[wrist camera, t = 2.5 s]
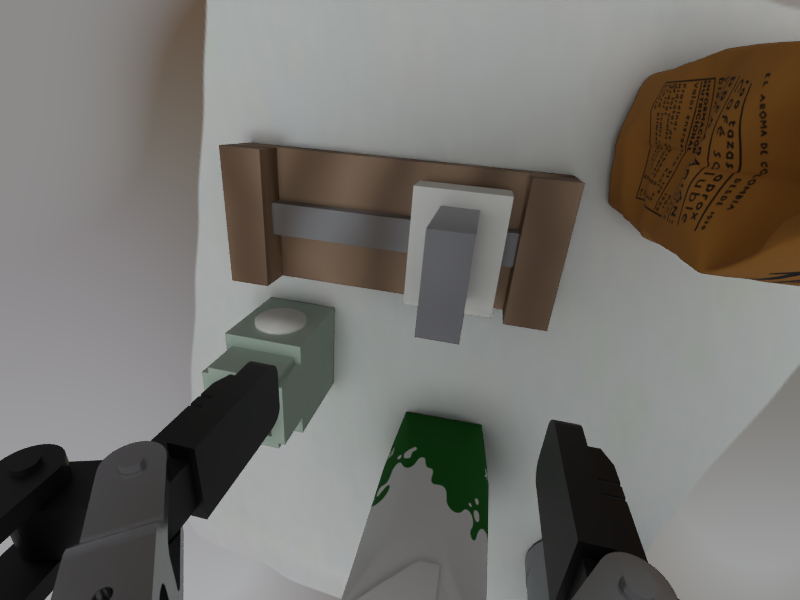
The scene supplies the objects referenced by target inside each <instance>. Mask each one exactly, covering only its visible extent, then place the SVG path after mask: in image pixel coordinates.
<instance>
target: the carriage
mask: <svg viewBox="0 0 800 600" xmlns="http://www.w3.org/2000/svg"><path fill="white" fill-rule="evenodd" d="M513 199H514V195H513V191H512V190H504V189H494V188H485V187H476V186H467V185H458V184H449V183H440V182H431V181H422V180H420V181H419V182H418V183H416V184H415V185H414V186H413V198H412V209H411V220H410V232H409V243H408V254H407V266H406V277H405V288H404V300H403V304H405V305H411V306H418V310H417V320H416V329H415V337H418V338H424V339H430V340H436V341H441V342H447V343H453V344H459V341H460V335H461V329H462V323H463V316H464V314H468V315H474V316H480V317H487V318H491V315H492V310H493V305H494V299H495V294H496V289H497V284H498V278H499V273H500V268H501V262H502V257H503V252H504V247H505V241H506V236H507V231H508V225H509V220H510V215H511V210H512V204H513Z"/></svg>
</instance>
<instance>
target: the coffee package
mask: <svg viewBox="0 0 800 600" xmlns="http://www.w3.org/2000/svg"><path fill="white" fill-rule="evenodd" d="M609 204H610V206H611V207H612V208H614V209H616V210H617V211H618V212H620V213H621V214H622V215H623V216H624V218H625V219H627V220H628V221H629V222H630V223H631V224H632V225H633V226H634V227H635V228H636V229H637V230H638V231H639V232H640V233H641V235H642V236H643V237H645V238H646V239H648V240H650V241H653V242H655V243H658V244H660V245H662V246H663V247H665V248H666V249H668V250H670V251H671V252H673V253H675V254H676V255H677V256H678V257H679V258H680V259H681V260H683V261H684V262H685V263H687V264H688V265H689V266H691V267H692V268H693V269H695V270H696V271H697V272H700V273H703V274H710V275H717V276H724V277H734V278H744V279H751V280H757V281H763V282H770V283H779V284H787V285H796V286H800V41H795V42H778V43H766V44H756V45H750V46H742V47H735V48H729V49H725V50H723V51H720V52H718V53H715V54H712V55H710V56H707V57H705V58H703V59H699V60H697V61H695V62H691V63H687V64H685V65H682V66H680V67H678V68H675V69H672V70H667V71H663V72H659V73H655V74H653V75H651V76H650V77H648V78H647V79H646V81H645V82H644V83H643V85H642V86H641V88H640V90H639V92H638V94H637V97H636V99H635V102H634V104H633V106H632V108H631V110H630V112H629V114H628V116H627V118H626V120H625V122H624V124H623V127H622V129H621V131H620V134H619V136H618V139H617V142H616V146H615V159H614V162H613V165H612V172H611V178H610V192H609Z"/></svg>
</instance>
